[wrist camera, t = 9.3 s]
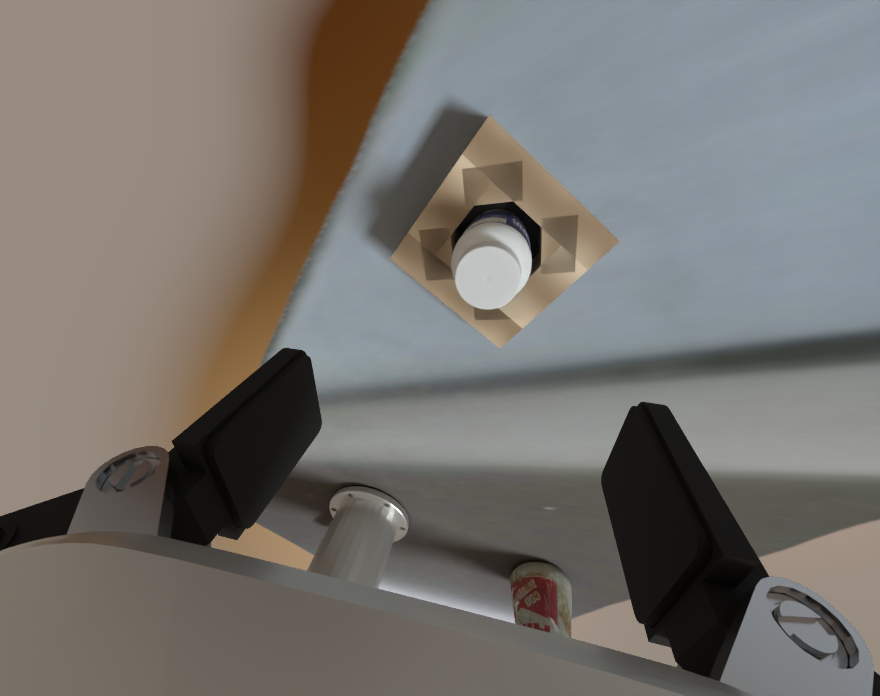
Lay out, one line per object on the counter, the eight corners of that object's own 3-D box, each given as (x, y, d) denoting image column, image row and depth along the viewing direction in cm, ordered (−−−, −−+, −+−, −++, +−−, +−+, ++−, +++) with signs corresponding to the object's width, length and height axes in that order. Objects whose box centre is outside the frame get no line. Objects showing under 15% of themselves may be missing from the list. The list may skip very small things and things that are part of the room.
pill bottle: (533, 266, 29) (539, 313, 20) (472, 278, 30) (455, 326, 22) (524, 199, 26) (526, 222, 18) (458, 216, 28) (432, 244, 20)
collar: (501, 330, 32) (500, 348, 29) (402, 248, 30) (389, 258, 27) (608, 230, 26) (619, 241, 23) (493, 119, 24) (489, 115, 21)
